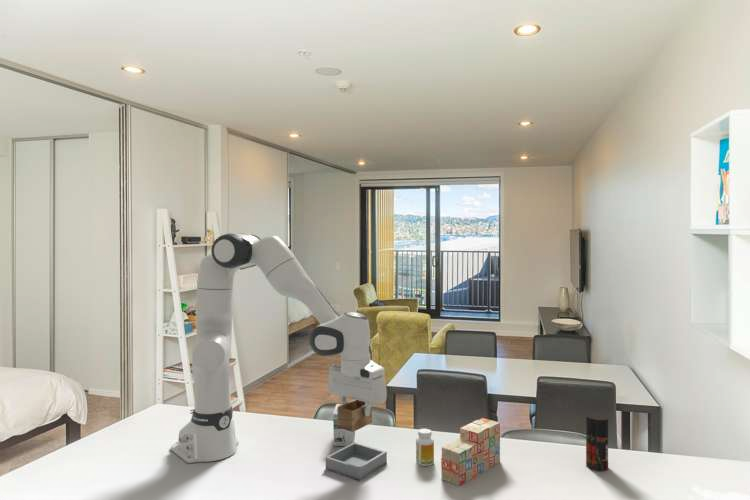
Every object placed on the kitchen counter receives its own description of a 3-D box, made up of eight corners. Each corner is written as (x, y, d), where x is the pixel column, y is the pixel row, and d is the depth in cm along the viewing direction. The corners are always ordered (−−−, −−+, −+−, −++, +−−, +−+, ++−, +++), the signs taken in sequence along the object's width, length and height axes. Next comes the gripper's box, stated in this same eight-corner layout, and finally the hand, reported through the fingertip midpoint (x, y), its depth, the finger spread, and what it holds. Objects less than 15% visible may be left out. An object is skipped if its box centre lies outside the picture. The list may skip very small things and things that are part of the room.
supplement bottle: (437, 462, 150) (437, 430, 149) (426, 468, 146) (426, 435, 145) (423, 457, 153) (423, 426, 153) (412, 462, 149) (412, 431, 149)
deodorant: (586, 460, 150) (586, 411, 150) (608, 464, 147) (608, 414, 147) (585, 469, 144) (585, 418, 144) (608, 473, 142) (607, 421, 142)
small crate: (353, 432, 141) (353, 411, 141) (337, 427, 145) (337, 406, 145) (371, 422, 149) (372, 403, 148) (356, 418, 152) (356, 399, 152)
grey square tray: (325, 469, 146) (325, 457, 146) (354, 453, 157) (354, 442, 156) (359, 481, 138) (358, 468, 138) (386, 463, 149) (386, 451, 149)
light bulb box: (353, 446, 162) (353, 414, 161) (333, 446, 162) (332, 414, 162) (355, 434, 172) (355, 403, 172) (336, 434, 172) (335, 403, 172)
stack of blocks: (459, 487, 135) (459, 442, 134) (440, 479, 139) (440, 436, 139) (500, 462, 150) (500, 421, 150) (482, 456, 154) (482, 416, 154)
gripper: (322, 364, 151) (323, 409, 151) (376, 374, 138) (377, 423, 139) (336, 360, 156) (336, 403, 156) (389, 369, 144) (389, 416, 144)
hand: (356, 412), depth 147 cm, fingers closed on small crate, 6 cm apart
